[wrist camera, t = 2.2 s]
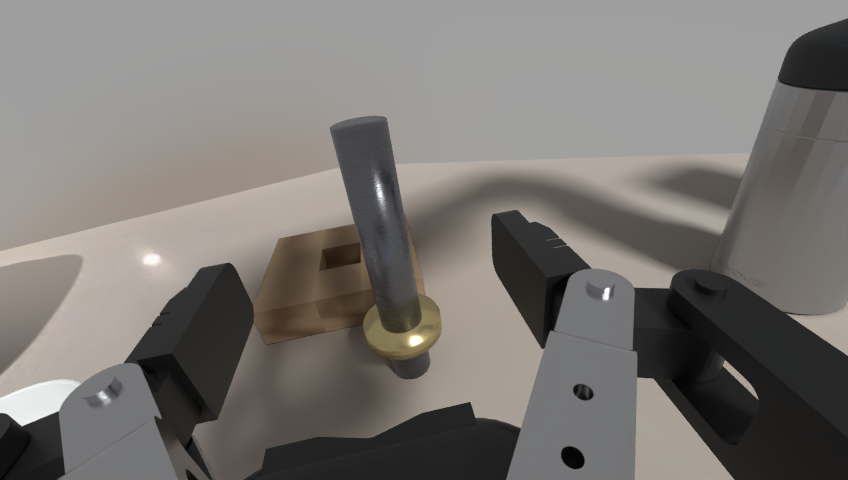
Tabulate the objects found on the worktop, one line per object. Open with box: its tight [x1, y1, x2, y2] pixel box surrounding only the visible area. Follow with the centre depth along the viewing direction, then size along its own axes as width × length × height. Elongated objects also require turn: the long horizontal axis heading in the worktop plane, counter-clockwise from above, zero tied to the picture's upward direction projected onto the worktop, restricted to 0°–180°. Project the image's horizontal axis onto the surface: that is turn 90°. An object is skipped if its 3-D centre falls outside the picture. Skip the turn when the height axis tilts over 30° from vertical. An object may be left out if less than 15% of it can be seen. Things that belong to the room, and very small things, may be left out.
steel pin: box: [330, 116, 442, 379], centre depth 25 cm, size 6×6×20 cm
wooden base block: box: [253, 214, 425, 345], centre depth 40 cm, size 16×14×4 cm
